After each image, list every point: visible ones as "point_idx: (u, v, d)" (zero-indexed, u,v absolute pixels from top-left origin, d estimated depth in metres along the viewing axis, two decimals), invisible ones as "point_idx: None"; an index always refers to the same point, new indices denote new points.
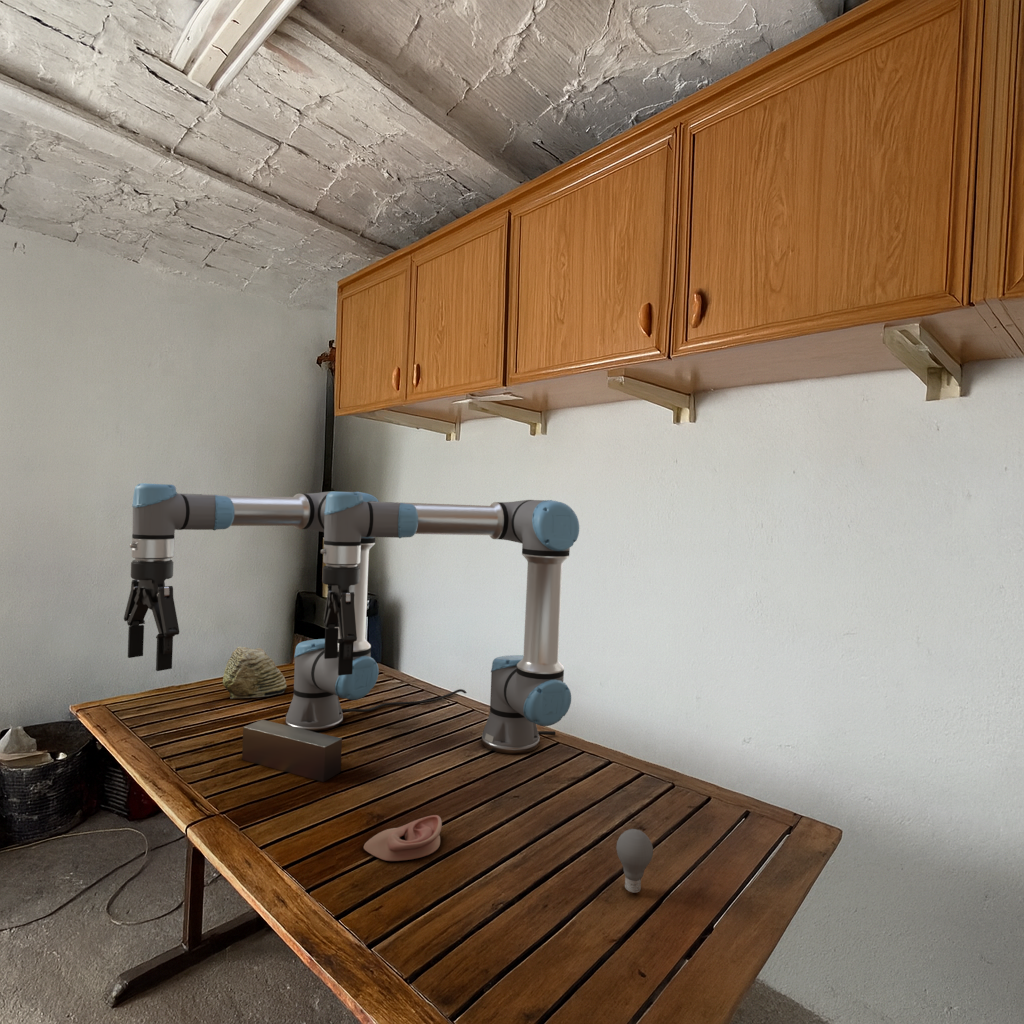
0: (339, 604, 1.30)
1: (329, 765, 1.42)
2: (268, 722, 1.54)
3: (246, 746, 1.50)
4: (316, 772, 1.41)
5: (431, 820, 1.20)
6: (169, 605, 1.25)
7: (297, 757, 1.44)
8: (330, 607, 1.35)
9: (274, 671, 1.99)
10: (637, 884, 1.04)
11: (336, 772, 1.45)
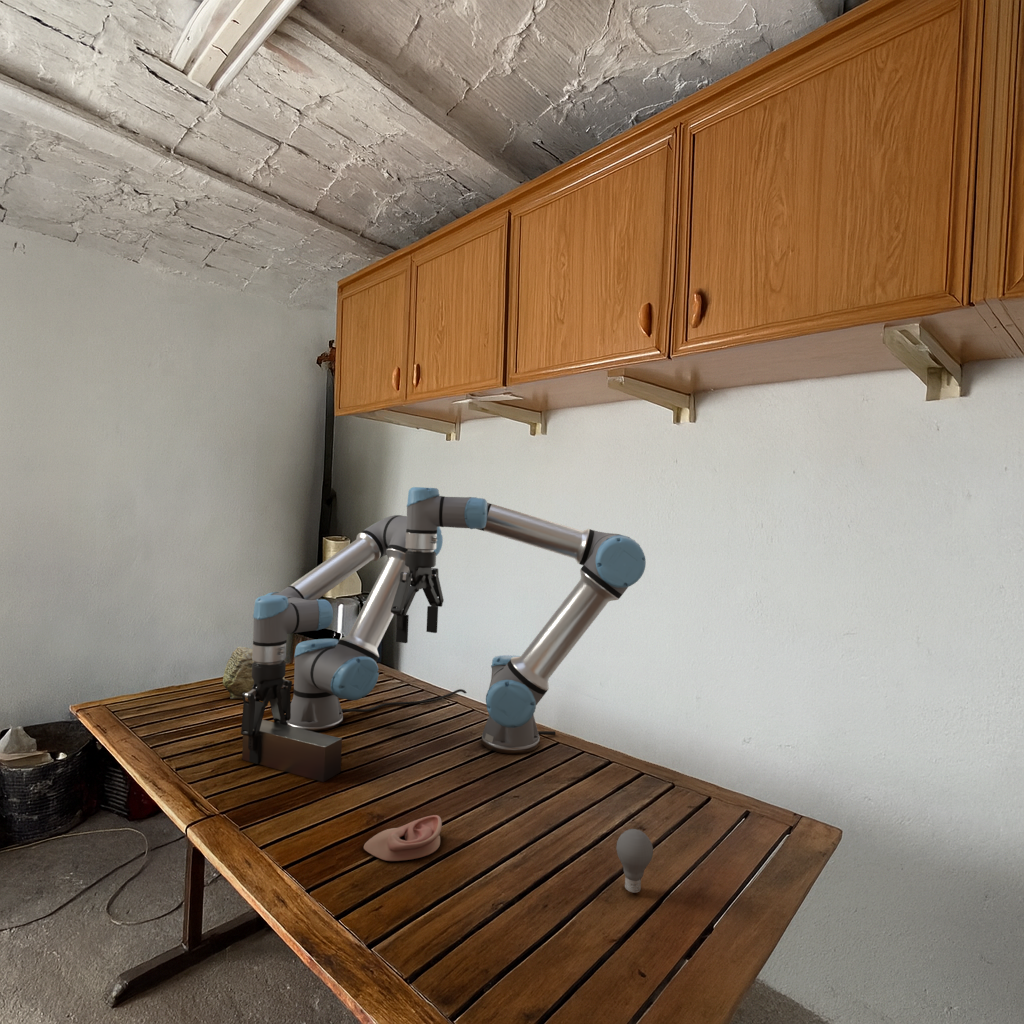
0: None
1: (329, 765, 1.42)
2: (268, 722, 1.54)
3: (246, 746, 1.50)
4: (316, 772, 1.41)
5: (431, 820, 1.20)
6: None
7: (297, 757, 1.44)
8: None
9: None
10: (637, 884, 1.04)
11: (336, 772, 1.45)
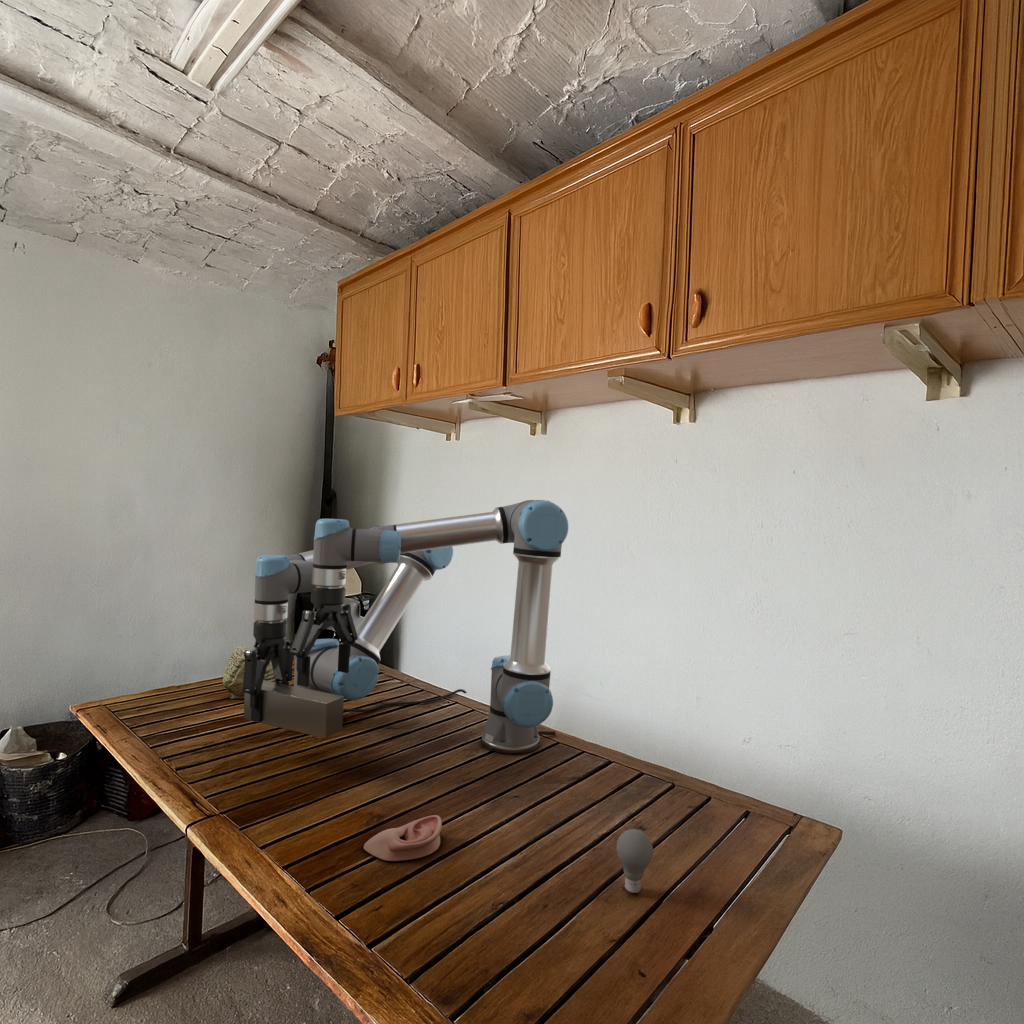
0: None
1: (330, 721, 1.42)
2: (270, 682, 1.54)
3: (248, 705, 1.50)
4: (318, 729, 1.41)
5: (431, 820, 1.20)
6: None
7: (298, 714, 1.43)
8: None
9: None
10: (637, 884, 1.04)
11: (338, 730, 1.44)
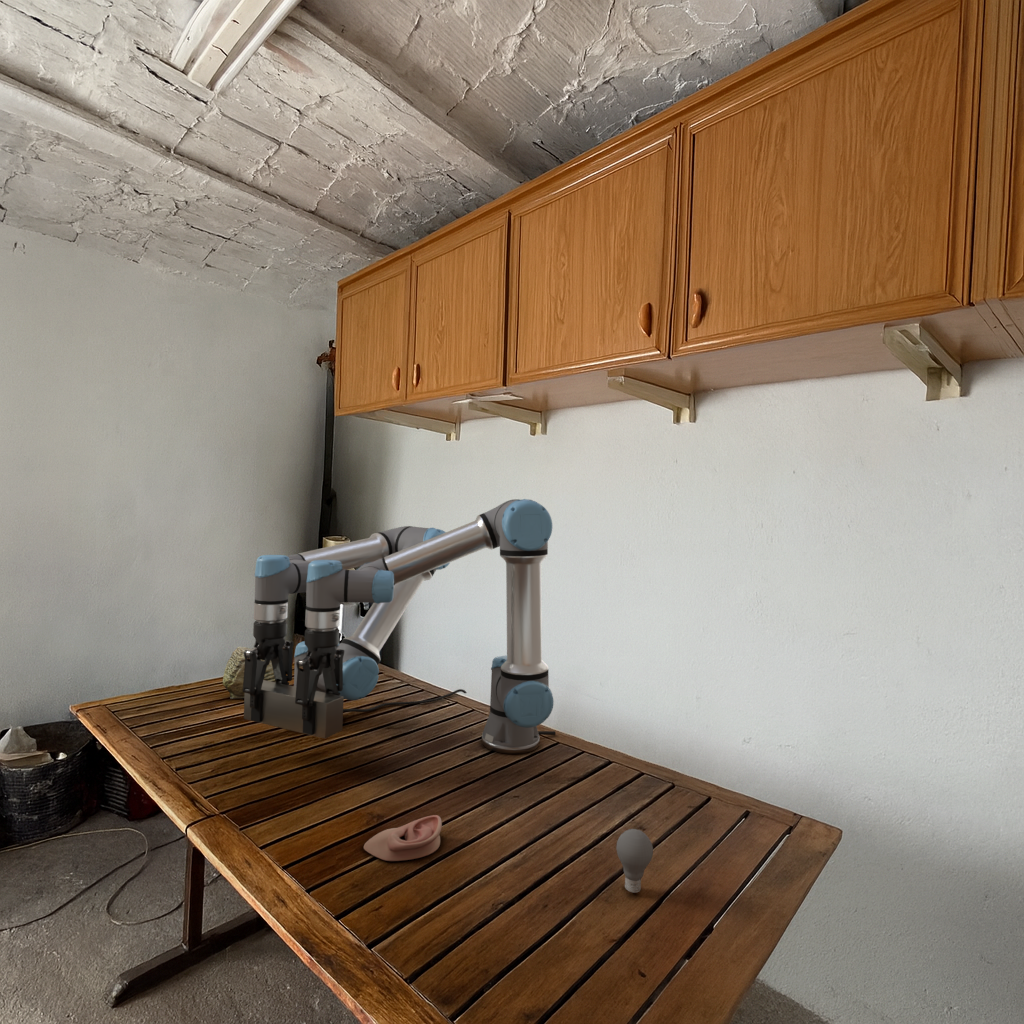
0: None
1: (330, 722, 1.42)
2: (270, 682, 1.54)
3: (248, 705, 1.50)
4: (318, 729, 1.41)
5: (431, 820, 1.20)
6: None
7: (298, 714, 1.43)
8: None
9: None
10: (637, 884, 1.04)
11: (338, 730, 1.44)
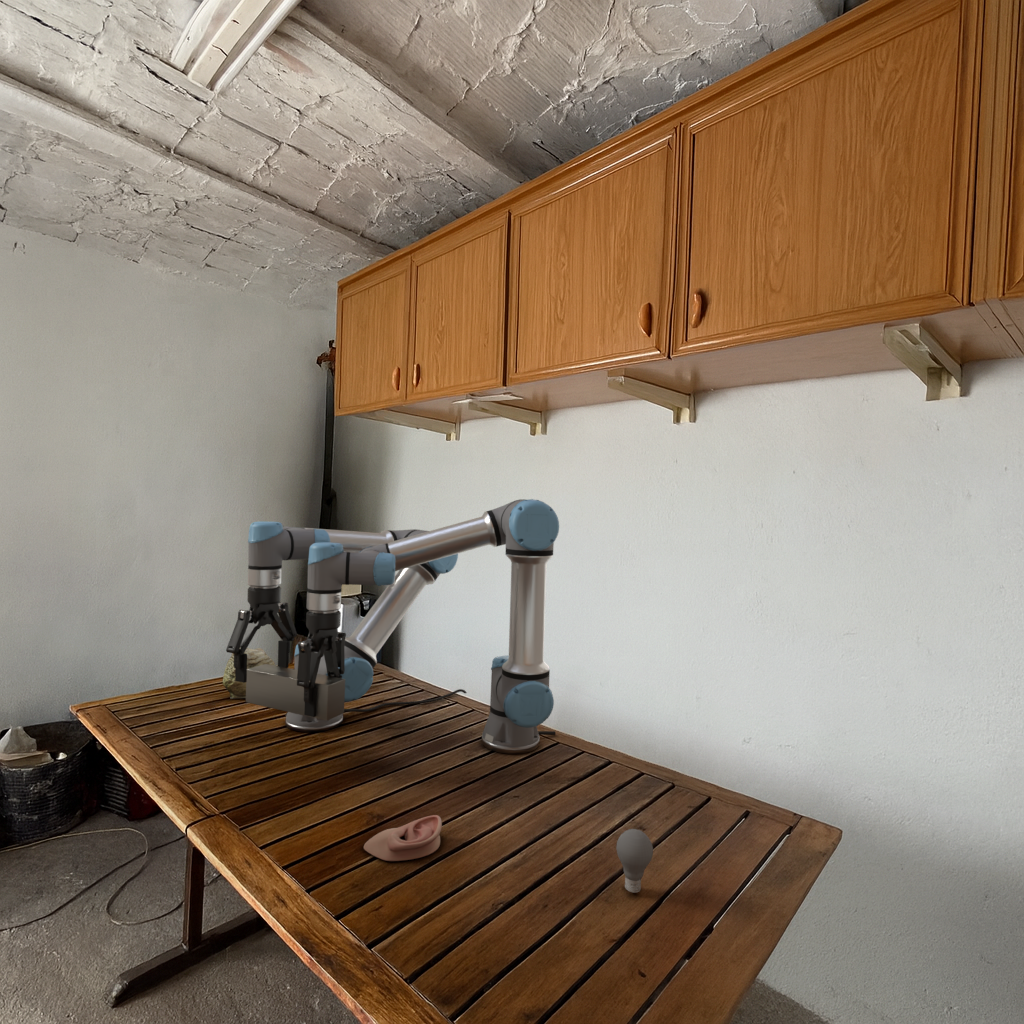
0: None
1: (332, 704, 1.42)
2: (271, 666, 1.54)
3: (249, 688, 1.50)
4: (319, 711, 1.41)
5: (431, 820, 1.20)
6: None
7: (300, 696, 1.43)
8: None
9: None
10: (637, 884, 1.04)
11: (339, 712, 1.44)
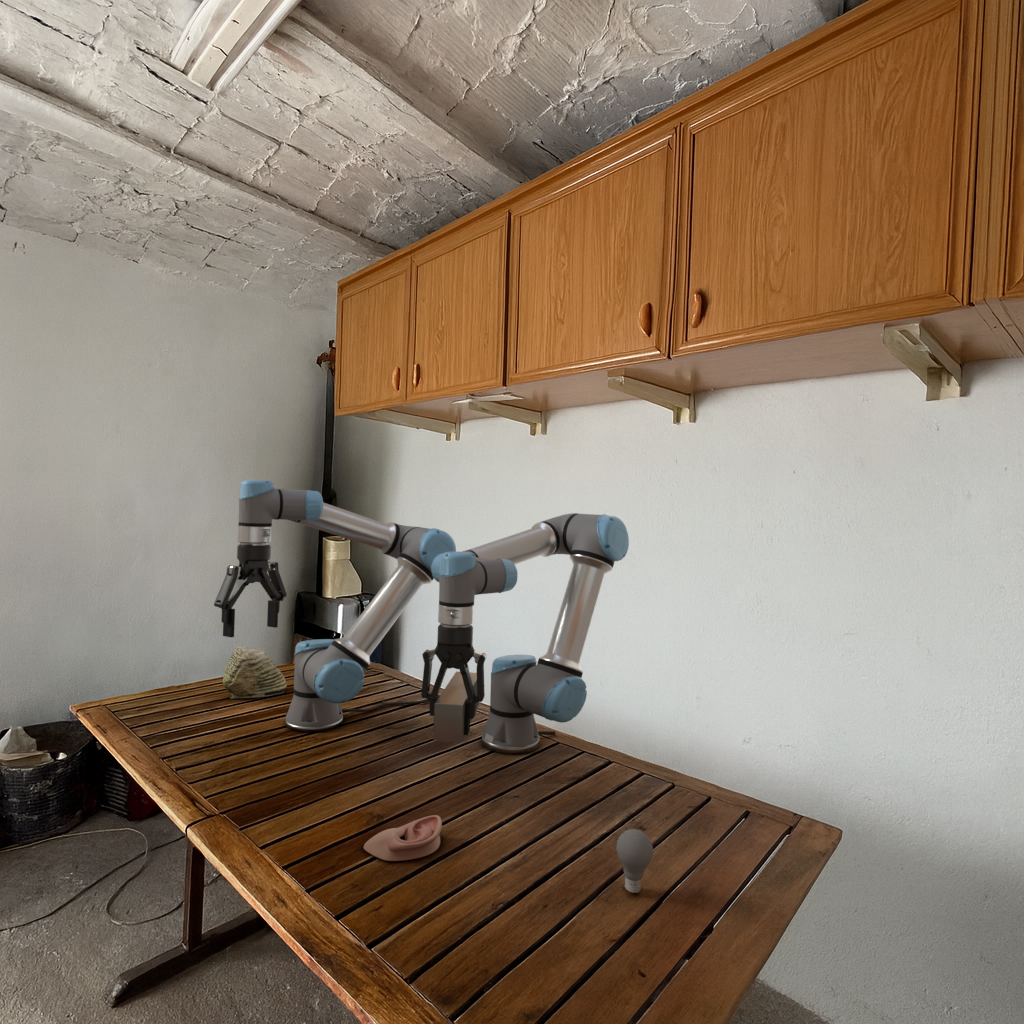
0: (467, 662, 1.34)
1: (441, 725, 1.31)
2: (475, 675, 1.52)
3: None
4: None
5: (431, 820, 1.20)
6: None
7: None
8: (444, 671, 1.34)
9: (274, 671, 1.99)
10: (637, 884, 1.04)
11: (454, 739, 1.31)
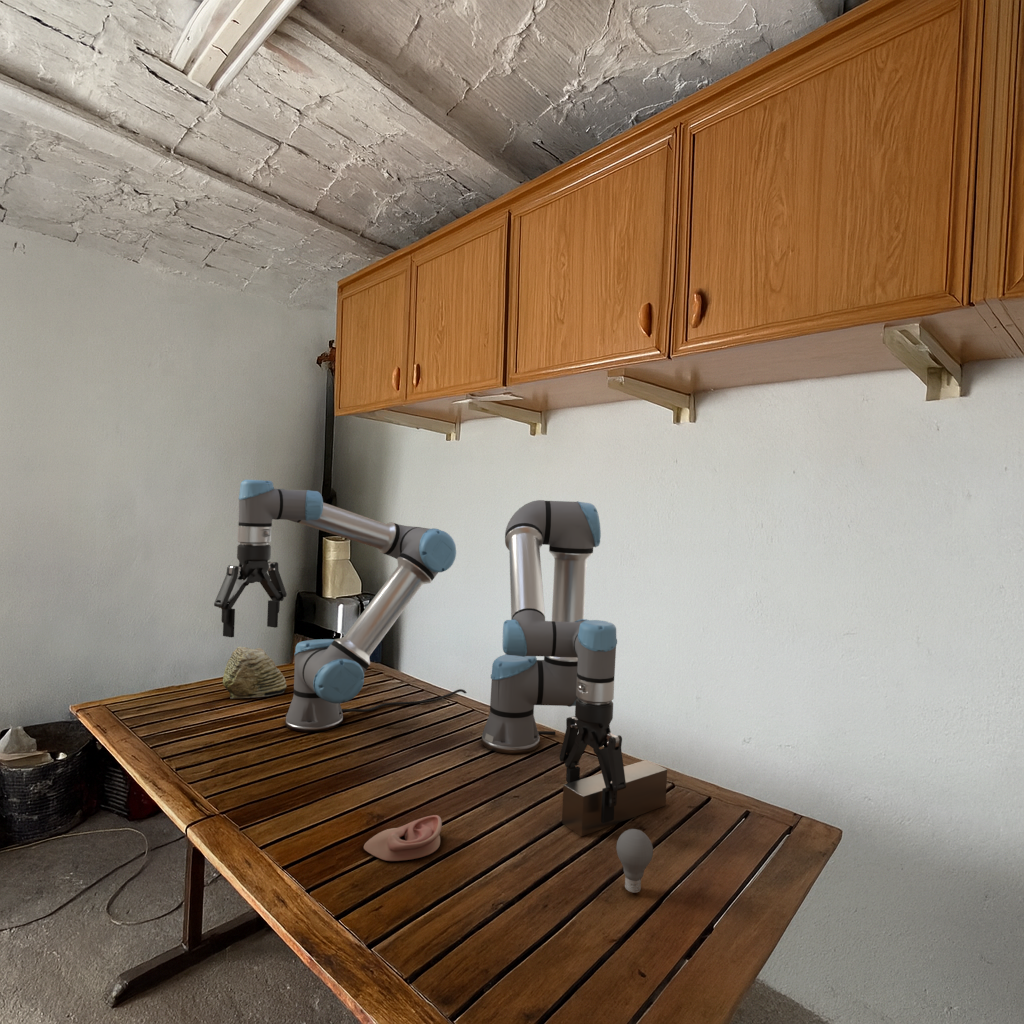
0: (600, 743, 1.24)
1: (567, 811, 1.26)
2: (655, 770, 1.35)
3: None
4: None
5: (431, 820, 1.20)
6: None
7: None
8: (579, 744, 1.28)
9: (274, 671, 1.99)
10: (637, 884, 1.04)
11: (576, 830, 1.24)
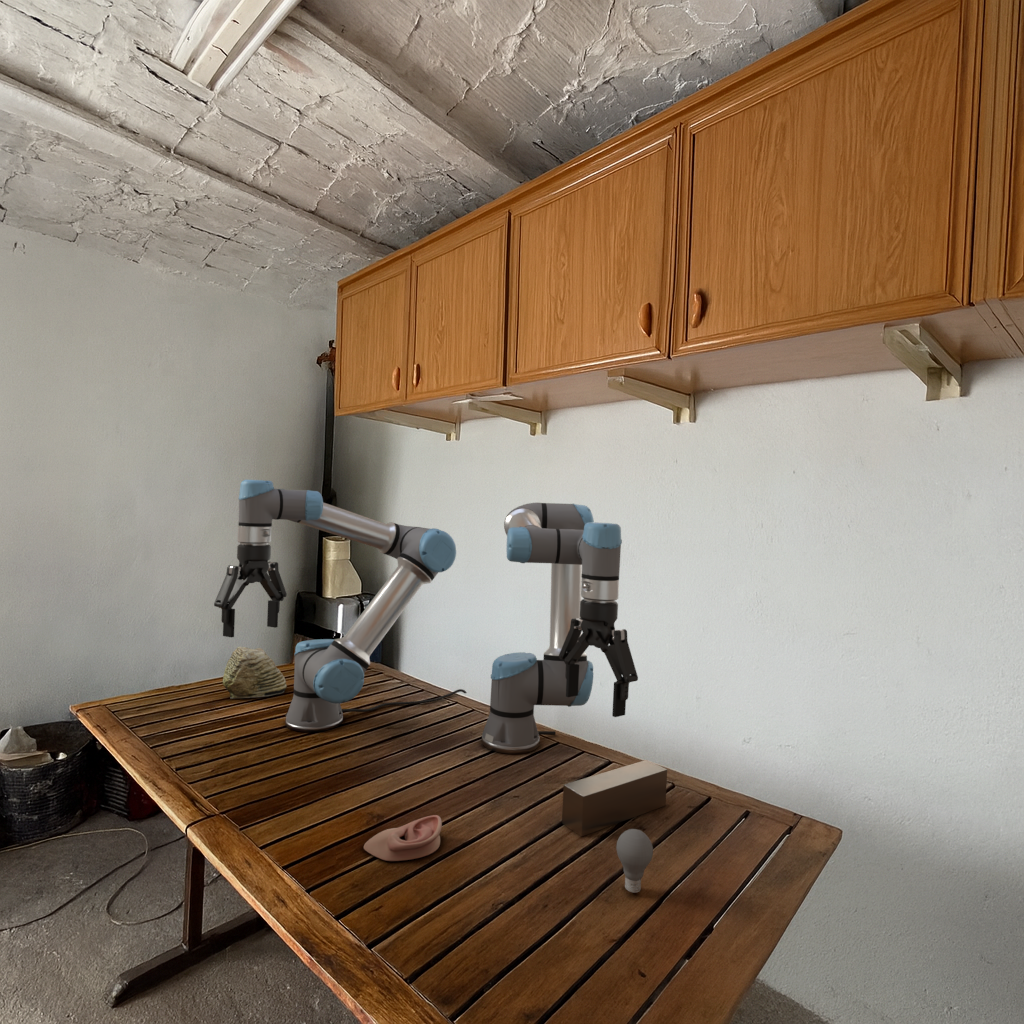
0: (605, 641, 1.24)
1: (567, 811, 1.26)
2: (655, 770, 1.35)
3: None
4: None
5: (431, 820, 1.20)
6: None
7: None
8: (582, 644, 1.28)
9: (274, 671, 1.99)
10: (637, 884, 1.04)
11: (576, 830, 1.24)
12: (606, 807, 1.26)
